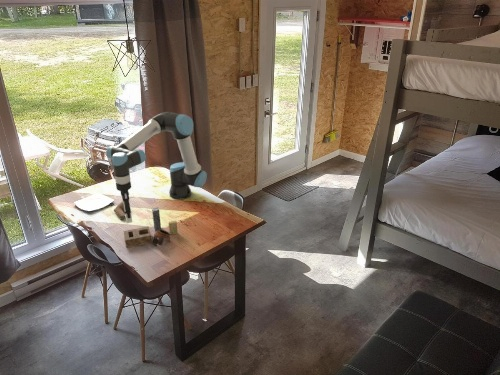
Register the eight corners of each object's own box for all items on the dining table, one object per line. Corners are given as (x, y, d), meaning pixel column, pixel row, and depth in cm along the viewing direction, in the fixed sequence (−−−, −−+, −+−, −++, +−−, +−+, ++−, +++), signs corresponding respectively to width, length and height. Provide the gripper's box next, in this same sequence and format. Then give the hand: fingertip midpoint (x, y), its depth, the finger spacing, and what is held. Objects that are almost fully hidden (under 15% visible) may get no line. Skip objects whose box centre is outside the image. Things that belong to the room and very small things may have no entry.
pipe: (118, 215, 237) (133, 208, 241) (110, 204, 249) (125, 197, 254) (121, 223, 240) (136, 216, 245) (113, 212, 253) (127, 205, 257)
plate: (89, 215, 246) (88, 212, 244) (72, 206, 256) (71, 202, 255) (116, 203, 260) (116, 200, 259) (99, 195, 271) (98, 191, 270)
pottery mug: (151, 239, 222) (156, 227, 222) (166, 245, 225) (171, 232, 224) (150, 246, 211) (156, 233, 210) (166, 252, 214) (172, 239, 213)
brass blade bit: (177, 232, 229) (176, 220, 226) (177, 233, 228) (176, 222, 224) (169, 233, 228) (168, 221, 224) (170, 235, 226) (169, 223, 223)
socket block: (149, 233, 227) (148, 226, 225) (152, 242, 219) (151, 235, 217) (124, 238, 222) (123, 231, 220) (126, 247, 214) (125, 240, 212)
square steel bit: (160, 227, 234) (158, 207, 228) (161, 230, 231) (159, 209, 225) (154, 228, 233) (151, 208, 226) (155, 231, 230) (152, 211, 223)
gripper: (113, 173, 212) (119, 207, 221) (117, 192, 191) (123, 229, 200) (127, 171, 214) (132, 205, 224) (133, 190, 194) (138, 226, 203)
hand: (128, 216), depth 212 cm, fingers open, 13 cm apart
